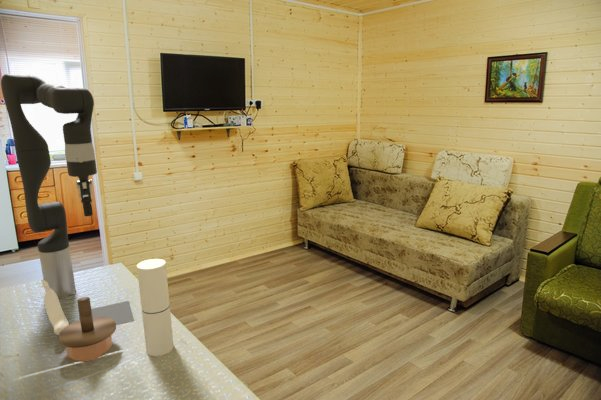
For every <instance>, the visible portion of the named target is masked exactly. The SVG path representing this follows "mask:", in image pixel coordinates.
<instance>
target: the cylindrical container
mask: <svg viewBox="0 0 601 400" xmlns="http://www.w3.org/2000/svg"><path fill="white" fill-rule="evenodd" d="M136 269H137V281H138V289H139V296H140V297H139V298H140V306H141V315H142V324H143V325H142V326H143V332H144V340H145V341H144V342H145V351H146V354H147V355H148V356H151V357H161V356H165V355H167V354H169V353H170V352H172V350H173V349H174V347H175V346H174V338H173V337H174V336H173V335H174V334H173V326H172V315H171V314H172V313H171V306H170V305H171V304H170V296H169V286H168V275H167V274H168V273H167V262H166V260H164V259H161V258H150V259H145V260H142V261H140V262H138V263H137V264H136Z"/></svg>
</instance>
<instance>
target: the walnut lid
mask: <svg viewBox="0 0 601 400" xmlns="http://www.w3.org/2000/svg"><path fill="white" fill-rule="evenodd" d="M76 302H77V309H78V314H79V315H78V317H79V316H80V320H79V319H78V320H76V321H74V322H72V323H69V325H68V326H67V327H65V328H64V329H63V330H62V331H61V332H60V333H59V335H58V342H59V344H60V345H61V346H63V347H65V348H66V347H71V348H78V347H86V346H90V345H93V344H96V343H99V342H101V341H103V340H105V339H107V338H108V337H110V336H111V337H112V335H113V334H114V333H115V332H116V329H117V325H116V322H115V321H114V320H113V319H112V318H109V317H92V311H91V309H92V305H91V299H90V297H89V296H83V297H80V298H78V299H77V300H76Z"/></svg>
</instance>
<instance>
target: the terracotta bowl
mask: <svg viewBox="0 0 601 400" xmlns="http://www.w3.org/2000/svg"><path fill="white" fill-rule="evenodd" d="M112 346H113V339H112V335H111V336H110V337H108V338H107V339H105V340H103V341H101V342H99V343H96V344H93V345H90V346H86V347H78V348H71V347H65V348H66V354H67V355H66V356H67V358H69V359H71V360H73V361H76V362H77V363H78V362H84V363H85V362H88V361H92V360H96V359H99V358H100V357H102V356H104V355H105V354H106V352H108V351H109V350H110V348H111V347H112Z"/></svg>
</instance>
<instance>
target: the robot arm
mask: <svg viewBox="0 0 601 400" xmlns="http://www.w3.org/2000/svg"><path fill="white" fill-rule="evenodd" d="M0 86H1V93H2V96H3V100H4V104H5V107H6V110H7V111H6V112H7V114H8V118H9V122H10V126H11V130H12V136H13V137H12V138H13V143H14V149H15V154H16V160H17V163H18V164H17V165H18V169H19V173H20V177H21V182H22V187H23V195H24V203H25V209H26V211H25V212H26V218H27V222H28V226H29V229H30V230H31V231H32V232H33V233H42V232H46V231H52V230H53V231H52V232H51V233H50V234H49V235H48V236H46V237H44V238H43V239H41V240H40V241H38V242H37V251H38V255H39V256H38V257H39V261H40V266H41V272H42V273H41V275H42V277H43V279H42V280H45V281H46V282H48V285H49V287H50V288H51V289H52V290H54V292H55V293H56V295H57V297H58V299H62V298H67V297H69V296H72V295H74V294H75V293H76V291H77V289H76V284H75V283H76V282H75V275H74V269H73V263H72V262H73V261H72V257H71V256H72V255H71V249H70V244H69V234H68V233H69V232H68V225H67V223H68V222H67V213H66V208H65V206H64V205H63V203H62V202H60V201H51V202H45V203H39V201H38V200H39V198H38V197H39V193H40V189H41V186H42V184H43V181H44V180H45V179H46V177H47V174H48V172H49V170H50V168H51V164H52V161H51V156H50V155H51V154H50V149H49V145H48V143H47V140H46V139H44V137H43V136H42V134H40V133H39V131H37V129H36V128H35V126H33V125H32V124H31V123H30V121H29V120H28V118H27V116H25V112H24V111H23V108H22V105H35V104H42V105H43V106H46V107H48V108H51V109H53V111H54V112H56V113H57V114H62V115H63V114H67V115H68V114H69V115H70V114H77V116H76V119H75V120H72V121H69V122H66V123H64V124H63V126H62V134H63V141H64V154H65V160H66V161H65V162H66V168H67V173H68V174H67V175H68V176H69V177H76V178H78V180H76V188H77V190H78V196H79V198H80V199H81V200H80V201H81V202H80V203H82V209H83V215H84V217H92V216H93V206H92V202H93V199H92V197H93V183H92V179H89V176H95V175H96V174H97V173H98V169H97V163H96V155H95V154H96V153H95V149H94V145H93V139H92V133H91V132H92V131H91V126H92V117H93V113H94V106H95V102H94V101H95V100H94V97H93V94H92V93H91V92H90V90H89V89H87V88H85V87H65V86H63V85H60V84H54V83H49V82H47V81H46V80H45V79H44V80H43V78H40V77H39V76H37V75H31V74H19V73H17V74H16V73H5V74H4V75H2V77H1V81H0ZM38 203H39V204H38ZM44 291H45V293H46V290H45V289H44Z"/></svg>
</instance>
